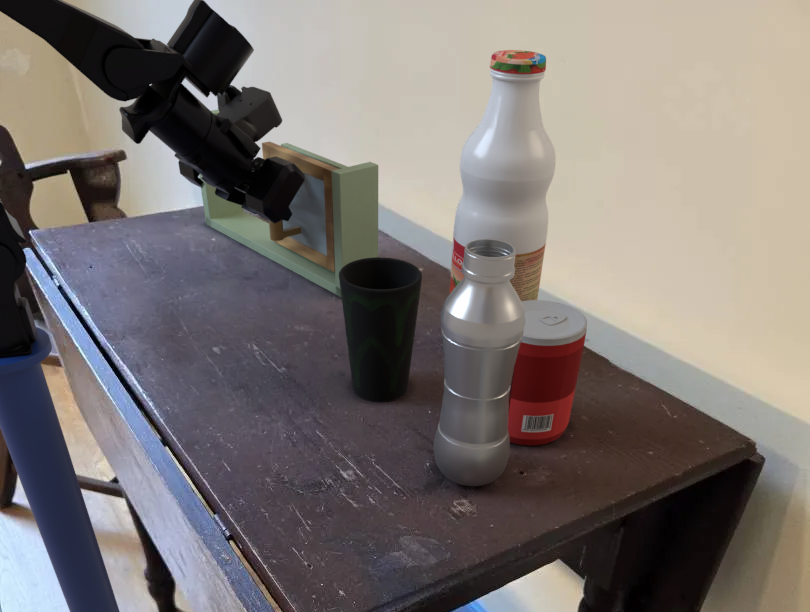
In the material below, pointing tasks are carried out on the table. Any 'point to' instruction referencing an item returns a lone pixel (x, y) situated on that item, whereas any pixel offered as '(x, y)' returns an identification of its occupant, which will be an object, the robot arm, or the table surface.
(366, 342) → the cup
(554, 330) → the canned food
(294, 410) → the table surface
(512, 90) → the fruit juice
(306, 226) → the sash
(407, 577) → the table surface
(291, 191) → the robot arm
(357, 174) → the window frame
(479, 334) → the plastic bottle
